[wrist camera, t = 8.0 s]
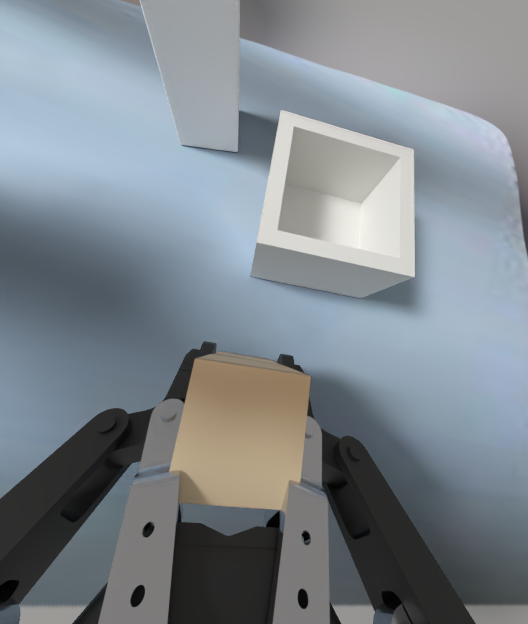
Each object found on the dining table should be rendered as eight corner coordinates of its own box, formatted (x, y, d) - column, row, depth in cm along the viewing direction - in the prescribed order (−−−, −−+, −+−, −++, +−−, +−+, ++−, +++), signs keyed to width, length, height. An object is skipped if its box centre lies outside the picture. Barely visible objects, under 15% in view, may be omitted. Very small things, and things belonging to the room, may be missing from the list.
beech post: (259, 407, 15) (297, 511, 6) (210, 401, 15) (162, 501, 5) (266, 358, 16) (310, 376, 7) (220, 351, 16) (194, 358, 6)
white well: (360, 298, 19) (414, 277, 13) (250, 276, 18) (256, 242, 12) (365, 203, 21) (413, 149, 16) (268, 178, 20) (280, 109, 14)
